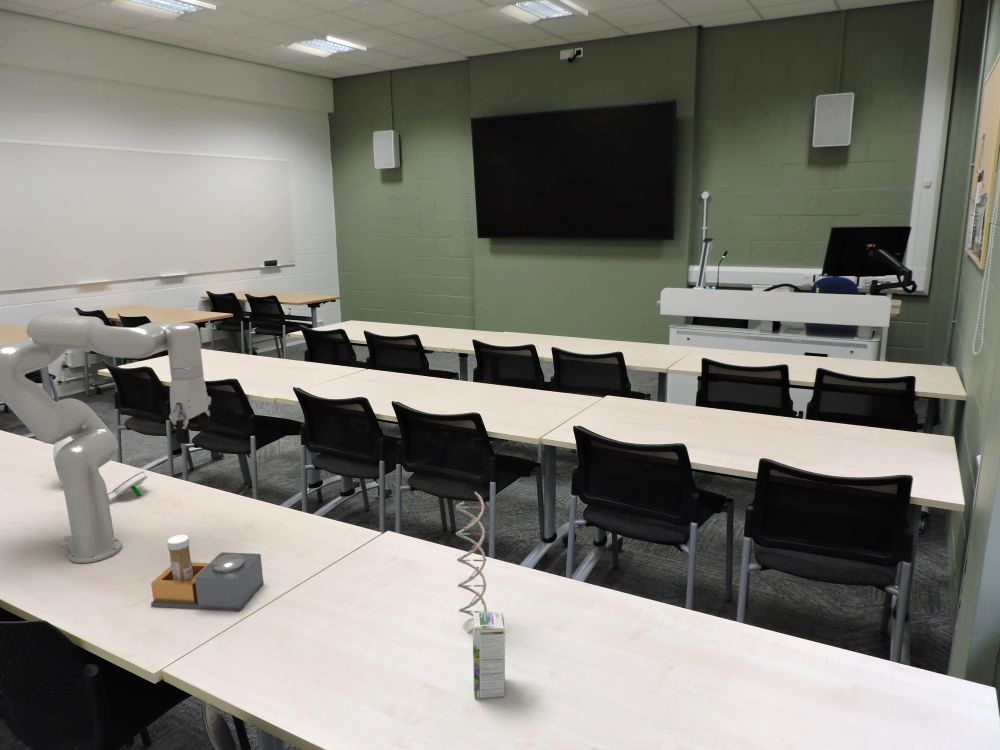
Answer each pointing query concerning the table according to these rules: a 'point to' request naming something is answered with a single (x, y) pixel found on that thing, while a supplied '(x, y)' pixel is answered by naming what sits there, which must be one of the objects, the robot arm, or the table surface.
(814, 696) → the table surface
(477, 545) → the dna model
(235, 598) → the grey orange box device
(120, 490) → the tabbed white plastic disc
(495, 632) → the syrup box
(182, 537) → the spice jar
